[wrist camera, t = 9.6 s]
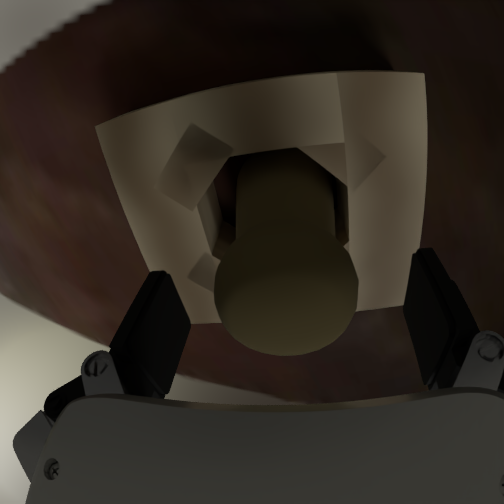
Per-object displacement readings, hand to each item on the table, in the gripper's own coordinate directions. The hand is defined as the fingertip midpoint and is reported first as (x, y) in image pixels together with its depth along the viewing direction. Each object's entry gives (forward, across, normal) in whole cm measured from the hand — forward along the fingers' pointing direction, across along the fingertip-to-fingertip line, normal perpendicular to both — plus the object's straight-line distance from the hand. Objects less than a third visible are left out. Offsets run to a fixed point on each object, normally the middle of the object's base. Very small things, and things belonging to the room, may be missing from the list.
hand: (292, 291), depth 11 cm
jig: (+9, +1, 0) cm, 9 cm away
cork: (+9, 0, 0) cm, 9 cm away
